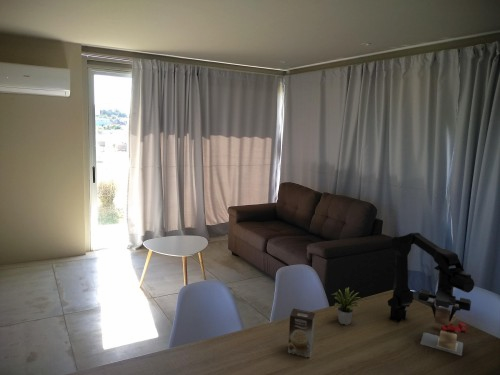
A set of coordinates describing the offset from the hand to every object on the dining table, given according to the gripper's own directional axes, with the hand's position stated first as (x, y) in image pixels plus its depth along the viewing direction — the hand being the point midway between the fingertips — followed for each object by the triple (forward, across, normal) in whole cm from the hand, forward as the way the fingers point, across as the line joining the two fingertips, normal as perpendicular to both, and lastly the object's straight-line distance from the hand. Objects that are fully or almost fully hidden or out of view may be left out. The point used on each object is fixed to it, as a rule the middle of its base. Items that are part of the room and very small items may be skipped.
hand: (442, 319), depth 156 cm
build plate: (+11, 0, 0) cm, 11 cm away
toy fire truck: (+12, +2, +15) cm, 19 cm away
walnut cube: (+1, 0, 0) cm, 1 cm away
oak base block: (+10, +2, +1) cm, 11 cm away
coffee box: (+11, -46, -37) cm, 60 cm away
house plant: (+11, -39, -5) cm, 41 cm away
